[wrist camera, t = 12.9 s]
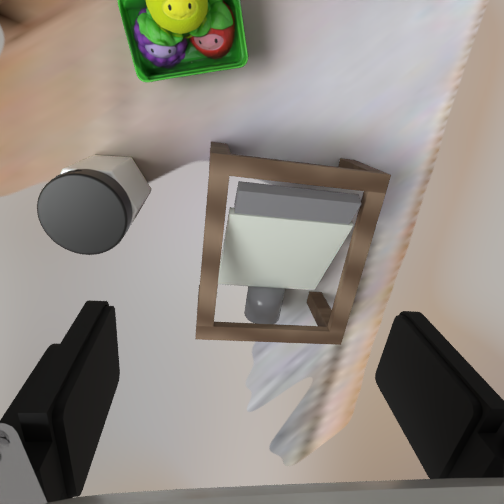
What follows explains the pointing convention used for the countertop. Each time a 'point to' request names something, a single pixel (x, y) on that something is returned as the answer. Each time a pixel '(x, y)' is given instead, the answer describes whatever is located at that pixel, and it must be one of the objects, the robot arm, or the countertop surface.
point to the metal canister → (263, 304)
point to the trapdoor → (284, 235)
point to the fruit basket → (183, 36)
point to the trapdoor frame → (327, 320)
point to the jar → (92, 203)
